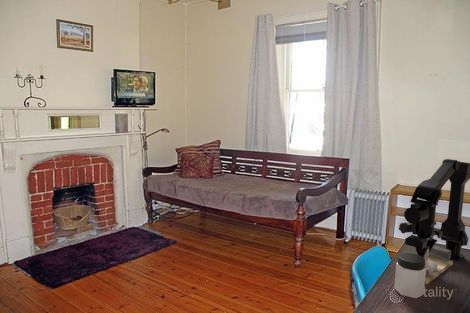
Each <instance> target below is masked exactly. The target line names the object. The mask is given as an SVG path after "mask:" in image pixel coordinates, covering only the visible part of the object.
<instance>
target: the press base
mask: <svg viewBox="0 0 470 313" xmlns="http://www.w3.org/2000/svg"><path fill="white" fill-rule="evenodd" d="M450 256H451V250H448V249H445V248H443V247H441V246H440V247H439V246H437V245H434V246H433V248H432V249H431V251H430V252H429V256H428V261H430V262H433V263H436V264H438V266H437V270H435V271H434V272H433V273H431V274H430V275H429V276H428V275H427V270H426V277H425V285H428V284H430V283H431V282H432V281H433V280H435V279H436V278H437V277H439V276H440V275H441V274H442V273H444V272H445V271H446V270H447V269H448V268H450V267H451V266H453V264H454V261H453V260H451V258H450Z"/></svg>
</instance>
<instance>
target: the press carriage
mask: <svg viewBox="0 0 470 313" xmlns="http://www.w3.org/2000/svg"><path fill="white" fill-rule="evenodd" d="M428 256H429V248H428V250H427V252H426V254H425V256H424V259H425V268H426V270H427V275H428V276H429V275H430V274H431V273H433V272H434V271H435V270H437V266H438V264H436V263H433V262H430V261H428Z"/></svg>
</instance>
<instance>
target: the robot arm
mask: <svg viewBox="0 0 470 313" xmlns="http://www.w3.org/2000/svg"><path fill="white" fill-rule="evenodd" d="M448 181H449V183H450V190H449V191H450V192H449V201H448V207H447V208H448V209H447V210H448V212H447V218H446V219H445V220H444V221H443V222H441V226H440V228H437V227H435V226H436V225H437V221H436V220H435V219H436V213H437V212H436V211H437V209H436V208H437V206H438V205H439V202H440V199H441V198H442V194H443V190H442V188H443V187H444V186H445V184H446V183H447V182H448ZM468 181H470V162H464V161H459V160H457V159H450V158H446V159H443V160H442V162H441V165H440V166H439V167H438V169H437V170H436V171H435V172H434V173H433V175H432V176H431V177H430V178H428V179H426V180H423V181H421V182H420V183H419V184H418V185H417V186H416V187H415V189H414V192H413V193H412V197H411V200H410V203H411V204H410V207H408V208H406V209H405V211H404V214H403V216H404V219H405V221H406V222H401V223H399V225H398V230H399V231H400V233H401V234H406V233H411V235H409V236H407V237H405V239H404V245H407V246H410V247H413V248H414V249H415V251H416V255H419V256H421V257H423V258H424V256H425V254H426V252H427V250H428V248H429V252H430V251H431V249H432V248H433V246H436V243H437V242H438V239H440V240H441V241H445V245H444V247H445V248H444V249H448V250H451V256H450V259H453V260H457V261H460V260H461V259H462V258H464V254H462V248H463V247H464V246H468V242H469V236H468V234H467V232H466V225H465V222H464V221H463V220H462V215H463V214H462V213H463V205H464V198H465V197H464V196H465V187H466V186H465V185H466V184H467V183H468ZM435 236H437V239H436V238H435Z"/></svg>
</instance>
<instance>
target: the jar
mask: <svg viewBox="0 0 470 313" xmlns="http://www.w3.org/2000/svg"><path fill="white" fill-rule="evenodd" d="M425 277H426V268H425V259H424V258H423V257H421V256H419V255H417V253H416V254H415V253H413V252H401V253H399V254H398V256H397V262H396V263H395V274H394V289H395V290H396V291H397V292H398V293H399V294H400V296H404V297H409V298H414V299H417V298H420V297H421V296H423V295H424V294H425V285H426V283H425Z"/></svg>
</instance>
